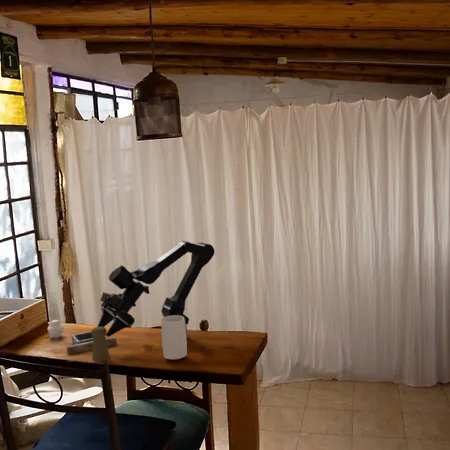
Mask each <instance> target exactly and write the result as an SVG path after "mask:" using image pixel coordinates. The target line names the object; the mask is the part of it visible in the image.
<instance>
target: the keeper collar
mask: <svg viewBox="0 0 450 450" xmlns="http://www.w3.org/2000/svg"><path fill="white" fill-rule="evenodd" d="M91 331H92V330H91ZM91 331H86V332H82V333H81V332H80V333H77V334H72V335H71V342H72V345H75V344H80V343H85V342H90V341H93V337H92V334H91Z"/></svg>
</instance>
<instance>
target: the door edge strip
mask: <svg viewBox="0 0 450 450" xmlns="http://www.w3.org/2000/svg"><path fill="white" fill-rule="evenodd" d="M105 338H106V342H107V347H109V346H114V345H117V337H116V336H109V337H105ZM90 350H93V341H90V342H85V343H80V344H75V345H74V344H71V345H67V346H66V353H67V355H72V354H77V353H80V352H81V353H82V352H85V351H90Z"/></svg>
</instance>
